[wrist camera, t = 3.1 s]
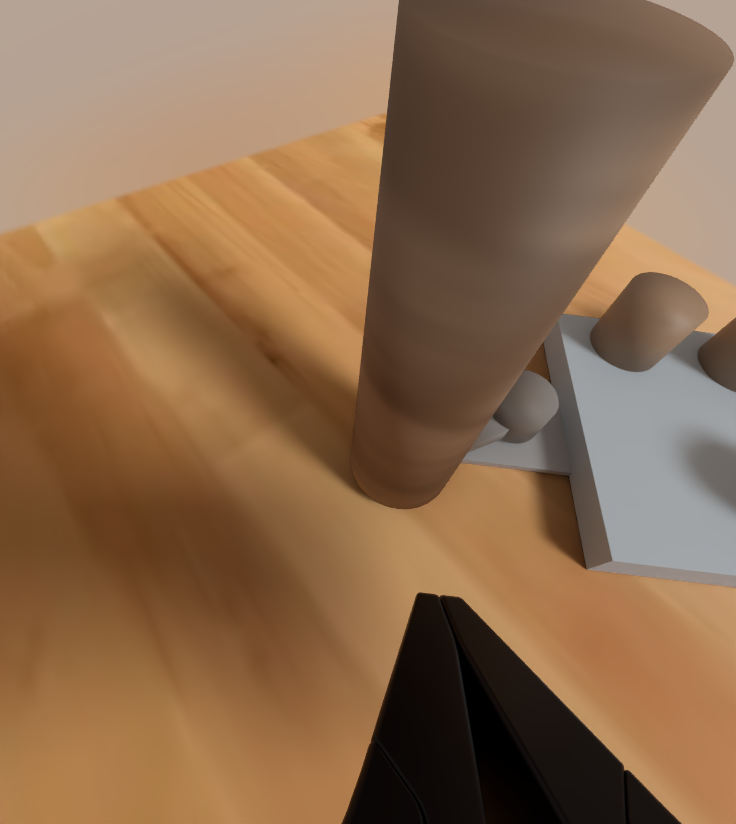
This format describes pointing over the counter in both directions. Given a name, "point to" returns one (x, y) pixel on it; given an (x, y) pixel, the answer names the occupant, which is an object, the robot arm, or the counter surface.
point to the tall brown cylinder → (504, 209)
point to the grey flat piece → (643, 434)
